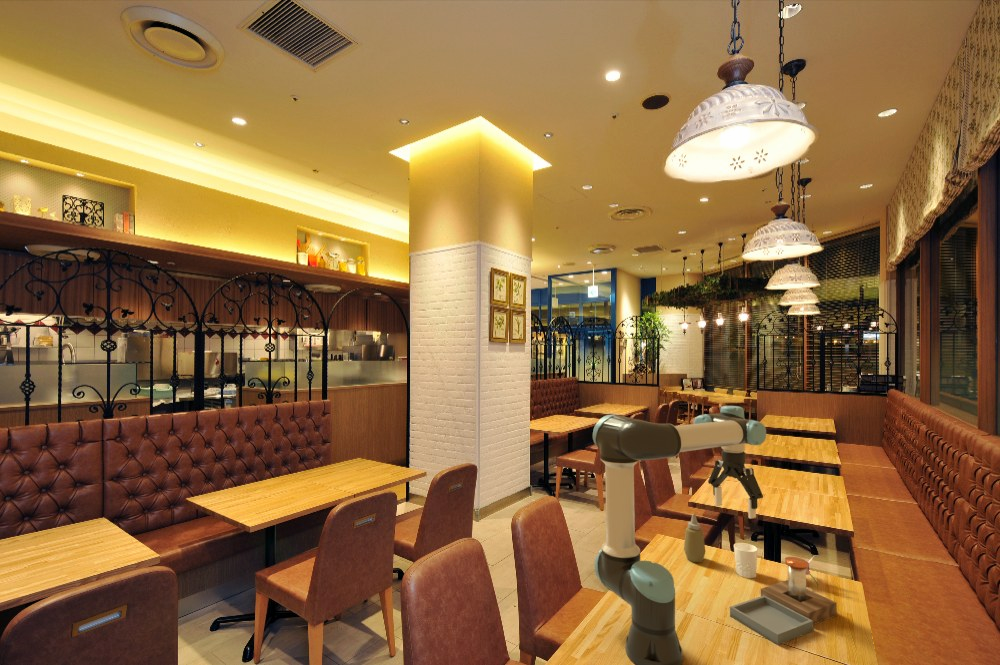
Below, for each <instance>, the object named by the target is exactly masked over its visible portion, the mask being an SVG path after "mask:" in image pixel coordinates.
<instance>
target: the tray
mask: <svg viewBox="0 0 1000 665" xmlns="http://www.w3.org/2000/svg"><path fill="white" fill-rule="evenodd" d="M729 612H730V613H729V617H730V618H732V619H734V620H735V621H737V622H739V623H740V624H742V625H743V626H745V627H747V628H748V629H750V630H752V631H754V632H755V633H757V634H759V635H760V636H762V637H763V638H765V639H766V640H768V641H770V642H772V643H774V644H775V645H776V646H780V645H782V644H785V643H788V642H789V641H792V640H795V639H797V638H799V637H802V636H804V635H807V634H809V633H812V632H814V625H813V621H812V620H810V619H809V618H807V617H805V616H803V615H801V614H799V613H797V612H795V611H793V610H791V609H789V608H787V607H786V606H784V605H782V604H780V603H778V602H776V601H774V600H772V599H770V598H768V597H766V596H761V595H760V596H758V597H755V598H751V599H749V600H746V601H744V602H740V603H737V604H734V605H731V606H729Z"/></svg>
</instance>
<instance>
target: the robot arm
mask: <svg viewBox="0 0 1000 665" xmlns="http://www.w3.org/2000/svg"><path fill="white" fill-rule="evenodd" d="M766 438H767V428H766V426H765V424H763V423H762V422H761V421H757V420H754V419H746V418H745V409H744V408H743V407H741V406H737V405H723V406H721V407H720V410H719V413H707V414H706V413H704V414H700V415H697V416H696V417H695V418H694V420H693V423H691V424H684V425H674V424H672V423H670V422H669V423H658V422H657V423H656V422H650V421H646V420H642V419H638V418H632V417H629V416H628V417H627V416H623V415H619V414H618V415H617V414H607V415H603V417H601V418H600V419H599V420H598V421H597V422H596V424H595V425H594V427H593V432H592V440H593V443H594V445H595V446H596V447H597V448H598V449H599V457H600V461H601V462H602V463H603V464H604V465H605V466H604V467H605V468H604V469H605V470H604V472H605V473H604V474H605V476H604V478H605V531H606V534H605V536H606V537H605V538H606V540H605V541H604V543H602V544H601V548H600V549H599V551H598V555H596V557H595V559H594V572H595V574H596V575H595V576H596V577H597V579H598V581H599V582H600V583H601V584H602V585H603V586H604V587H605V588H606V589H607V590H609V591H610V592H612V593H614V594H615V595H616V596H617V597H619V598H620V599H621V600H623V601H624V602H626V604H628V605H630V607H631V624H630V626H629V627H630V628H629V631H628V635H627V636H626V639H625V653H626V655H627V658H628V659H629V661H632V663H633V664H634V665H682V664H683V648H682V645H681V642H680V639H679V636H678V634H677V630H676V588H675V580H674V577H673V575H672V573H671V572H670V571H669V569H667V568H666V567H665V566H663V565H662V564H659V563H657V562H652V561H651V560H641V548H640V547H639V546H638V545H637V544H636V532H635V529H636V528H635V527H636V523H635V518H636V517H635V470H634V469H635V468H634V467H635V465H636V464H638V462H639V461H651V460H652V461H653V460H659V459H660V460H661V459H668V458H673V457H677V456H678V455H679V454H680V453H685V452H691V451H696V450H705V449H712V448H719V447H720V448H721V449H722V450H721V459H719V460H718V459H717V460H715V461H714V468H713V469H712V471H711V473H710V476H709V478H708V480H707V481H708V482H707V483H708V484H709V485H711V486H712V488H713V489H712V491H713V492H712V494H713V496H714V506H715V507H719V506H723V495H722V494H723V492H722V490H723V489H722V485H721V484H722V483H723V482H724V481H725V480H726V479H727V478H728V477H729V478H733V479H737V481H739V482H740V484H741V486H742V487H743V489H744V490H745V491H746V493H747V495H748V497H749V498H747V512H748V515H747V516H748V519H750V520H751V519H756V518H757V510H756V509H758V500H759V499H764V495H763V493H762V490H761V488H760V486H759V484H758V483H759V482H758V480H757V479H756V476H755V472H754V471H755V470H754V468H753V467H746V466H745V464H746V452H745V450H746V445H749V446H750V445H751V446H760V445H762V444H764V443H765V440H766ZM722 469H723V470H722ZM721 470H722V471H721Z"/></svg>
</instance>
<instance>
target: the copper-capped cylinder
mask: <svg viewBox="0 0 1000 665" xmlns="http://www.w3.org/2000/svg"><path fill="white" fill-rule="evenodd" d="M784 563H785V565H787V580H788V593H789V597H791V598H793V599H795V600H797V601H799V602H803V601H806V600H807V597H806V589H807V575H806V569H807V568H808V561H807V560H806V559H804V558H801V557H797V556H786V557H785V558H784Z"/></svg>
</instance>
